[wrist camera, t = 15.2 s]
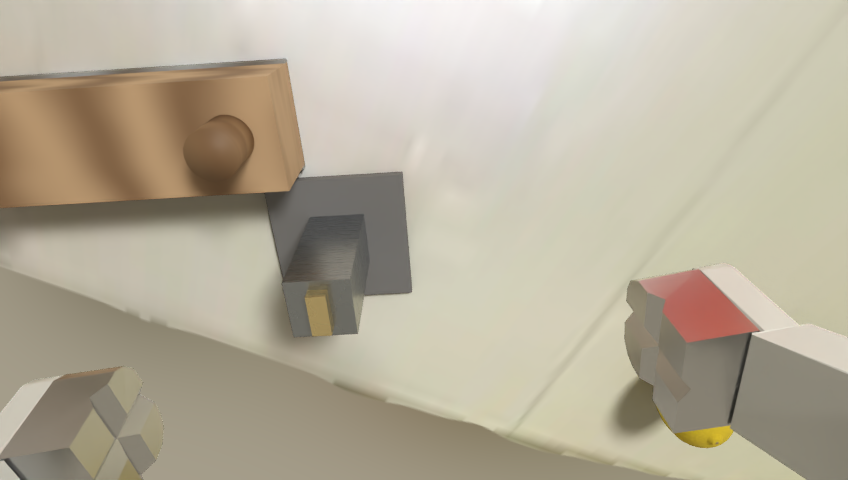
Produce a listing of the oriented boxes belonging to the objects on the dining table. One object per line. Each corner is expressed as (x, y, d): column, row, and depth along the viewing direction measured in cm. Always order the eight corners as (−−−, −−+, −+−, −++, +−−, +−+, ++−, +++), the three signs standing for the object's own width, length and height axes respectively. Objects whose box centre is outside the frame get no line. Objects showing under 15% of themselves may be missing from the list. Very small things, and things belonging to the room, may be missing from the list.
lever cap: (318, 263, 40) (291, 345, 32) (310, 216, 38) (278, 290, 30) (369, 260, 40) (356, 342, 31) (364, 213, 38) (348, 286, 30)
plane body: (2, 184, 38) (-109, 243, 30) (-47, 79, 34) (-189, 114, 26) (305, 166, 37) (274, 221, 29) (286, 58, 34) (245, 87, 26)
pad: (289, 295, 42) (287, 299, 42) (264, 180, 38) (262, 182, 37) (412, 288, 42) (411, 292, 42) (402, 171, 37) (402, 174, 37)
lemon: (665, 338, 45) (712, 408, 38) (716, 358, 46) (771, 430, 39) (628, 382, 47) (665, 456, 40) (677, 401, 48) (722, 475, 41)
